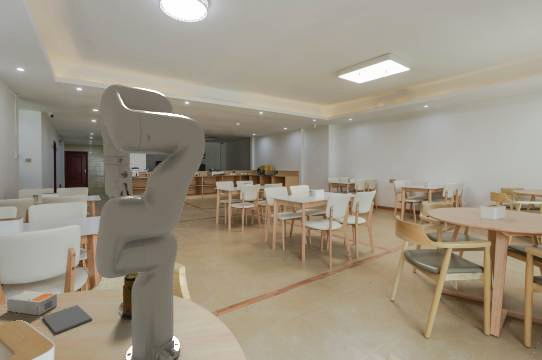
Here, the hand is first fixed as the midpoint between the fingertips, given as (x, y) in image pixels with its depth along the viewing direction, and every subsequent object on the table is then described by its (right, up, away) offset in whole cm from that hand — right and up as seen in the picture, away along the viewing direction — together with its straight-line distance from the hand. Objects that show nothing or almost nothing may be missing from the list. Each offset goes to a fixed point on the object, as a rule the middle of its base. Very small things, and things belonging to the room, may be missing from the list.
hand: (118, 217), depth 93 cm
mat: (-11, -30, -8) cm, 32 cm away
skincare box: (-20, -27, -4) cm, 33 cm away
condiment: (+7, -30, -4) cm, 31 cm away
